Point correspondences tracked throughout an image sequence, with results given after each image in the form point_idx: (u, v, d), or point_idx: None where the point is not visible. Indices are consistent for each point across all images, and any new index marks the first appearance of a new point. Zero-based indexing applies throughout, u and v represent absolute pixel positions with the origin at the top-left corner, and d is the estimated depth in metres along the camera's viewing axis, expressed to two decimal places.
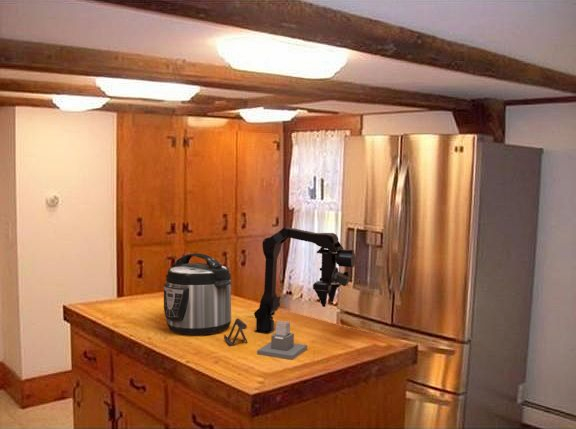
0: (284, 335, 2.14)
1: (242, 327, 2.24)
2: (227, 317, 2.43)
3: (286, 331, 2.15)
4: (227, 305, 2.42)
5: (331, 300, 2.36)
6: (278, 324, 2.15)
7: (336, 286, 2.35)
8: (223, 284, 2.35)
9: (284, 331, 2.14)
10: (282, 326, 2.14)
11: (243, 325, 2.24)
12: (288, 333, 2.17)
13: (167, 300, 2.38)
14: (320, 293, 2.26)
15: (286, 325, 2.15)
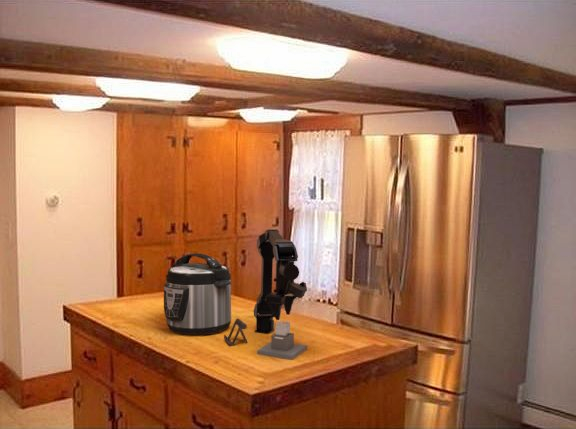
0: (284, 335, 2.14)
1: (242, 327, 2.24)
2: (227, 317, 2.43)
3: (286, 331, 2.15)
4: (227, 305, 2.42)
5: (287, 312, 2.20)
6: (278, 324, 2.15)
7: (293, 298, 2.20)
8: (223, 284, 2.35)
9: (284, 331, 2.14)
10: (282, 326, 2.14)
11: (243, 325, 2.24)
12: (288, 333, 2.17)
13: (167, 300, 2.38)
14: (273, 306, 2.11)
15: (286, 325, 2.15)
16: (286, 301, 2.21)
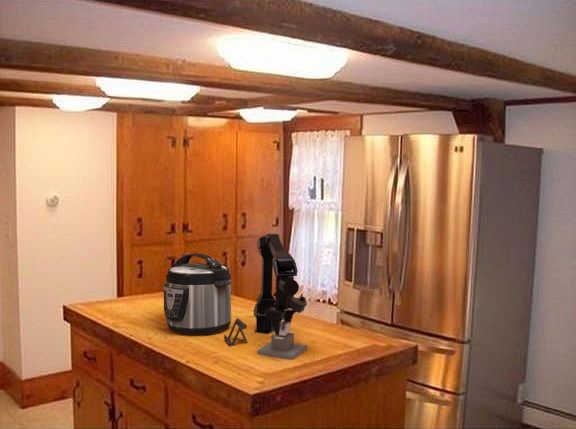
0: (284, 335, 2.14)
1: (242, 327, 2.24)
2: (227, 317, 2.43)
3: (286, 331, 2.15)
4: (227, 305, 2.42)
5: None
6: None
7: (292, 312, 2.20)
8: (223, 284, 2.35)
9: (284, 331, 2.14)
10: (282, 326, 2.14)
11: (243, 325, 2.24)
12: (288, 333, 2.17)
13: (167, 300, 2.38)
14: (273, 320, 2.11)
15: (286, 325, 2.15)
16: (286, 315, 2.21)
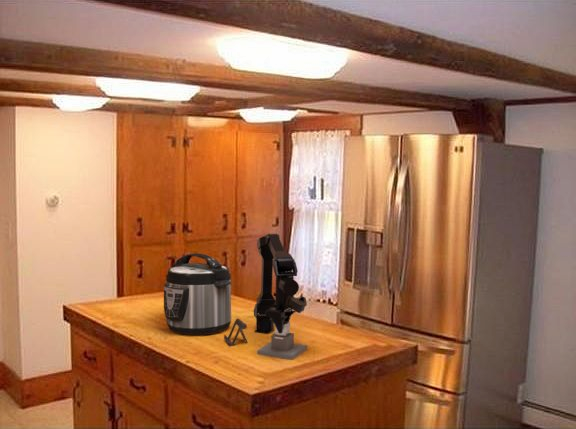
0: (284, 335, 2.14)
1: (242, 327, 2.24)
2: (227, 317, 2.43)
3: (286, 331, 2.15)
4: (227, 305, 2.42)
5: None
6: None
7: (290, 313, 2.18)
8: (223, 284, 2.35)
9: (284, 331, 2.14)
10: None
11: (243, 325, 2.24)
12: (288, 333, 2.17)
13: (167, 300, 2.38)
14: (276, 319, 2.14)
15: (286, 325, 2.15)
16: None
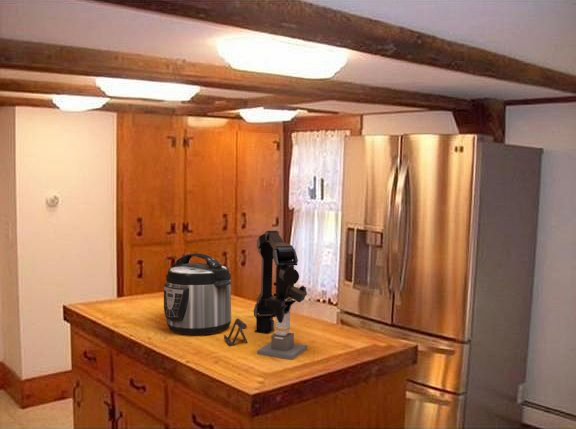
0: (284, 325, 2.14)
1: (242, 327, 2.24)
2: (227, 317, 2.43)
3: (286, 320, 2.14)
4: (227, 305, 2.42)
5: None
6: None
7: (290, 303, 2.18)
8: (223, 284, 2.35)
9: (284, 320, 2.14)
10: (283, 316, 2.14)
11: (243, 325, 2.24)
12: (288, 323, 2.17)
13: (167, 300, 2.38)
14: (276, 308, 2.13)
15: (286, 315, 2.14)
16: None
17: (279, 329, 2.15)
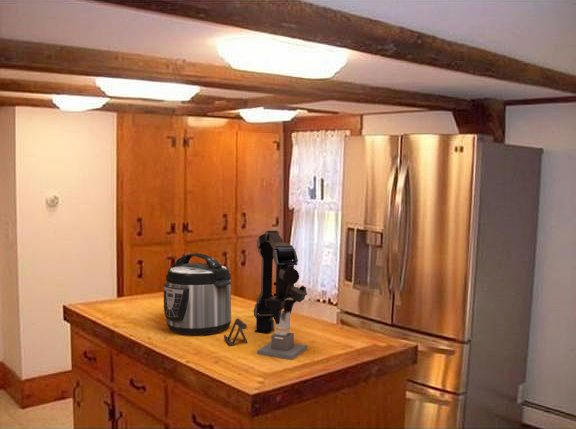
0: (284, 324, 2.14)
1: (242, 327, 2.24)
2: (227, 317, 2.43)
3: (286, 320, 2.14)
4: (227, 305, 2.42)
5: None
6: None
7: (292, 301, 2.20)
8: (223, 284, 2.35)
9: (284, 320, 2.14)
10: (283, 315, 2.14)
11: (243, 325, 2.24)
12: (288, 323, 2.17)
13: (167, 300, 2.38)
14: (273, 310, 2.11)
15: (286, 314, 2.14)
16: (286, 305, 2.21)
17: (279, 329, 2.15)
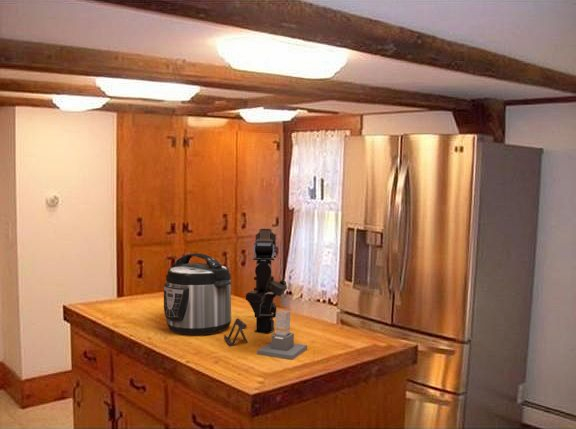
0: (284, 324, 2.14)
1: (242, 327, 2.24)
2: (227, 317, 2.43)
3: (286, 320, 2.14)
4: (227, 305, 2.42)
5: (268, 310, 2.24)
6: (278, 313, 2.15)
7: (273, 296, 2.23)
8: (223, 284, 2.35)
9: (284, 320, 2.14)
10: (283, 315, 2.14)
11: (243, 325, 2.24)
12: (288, 323, 2.17)
13: (167, 300, 2.38)
14: (254, 304, 2.14)
15: (286, 314, 2.14)
16: (266, 299, 2.24)
17: (279, 329, 2.15)
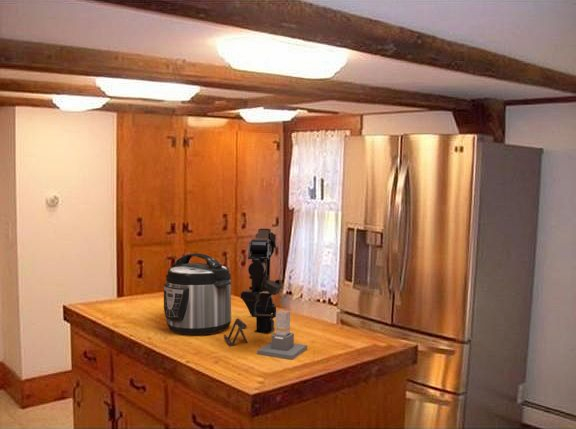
0: (284, 324, 2.14)
1: (242, 327, 2.24)
2: (227, 317, 2.43)
3: (286, 320, 2.14)
4: (227, 305, 2.42)
5: (263, 309, 2.24)
6: (278, 313, 2.15)
7: (268, 295, 2.24)
8: (223, 284, 2.35)
9: (284, 320, 2.14)
10: (283, 315, 2.14)
11: (243, 325, 2.24)
12: (288, 323, 2.17)
13: (167, 300, 2.38)
14: (249, 302, 2.15)
15: (286, 314, 2.14)
16: (262, 298, 2.25)
17: (279, 329, 2.15)
